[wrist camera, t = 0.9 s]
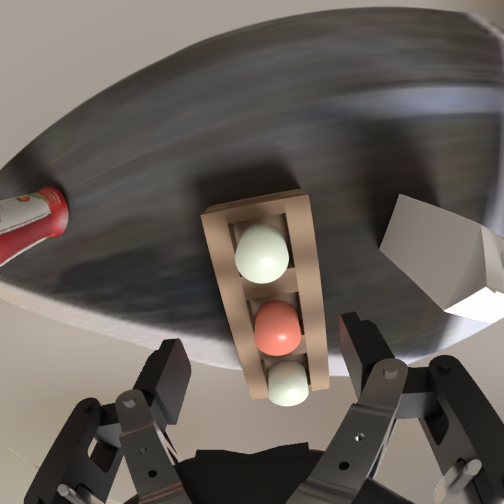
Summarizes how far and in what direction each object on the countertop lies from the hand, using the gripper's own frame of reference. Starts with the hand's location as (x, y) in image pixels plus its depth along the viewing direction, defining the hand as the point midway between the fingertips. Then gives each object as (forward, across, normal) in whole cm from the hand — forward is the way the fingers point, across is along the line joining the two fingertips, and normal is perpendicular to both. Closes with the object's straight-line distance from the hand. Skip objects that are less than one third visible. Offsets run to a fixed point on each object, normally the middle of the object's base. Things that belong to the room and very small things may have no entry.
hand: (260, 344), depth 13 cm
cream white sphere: (+15, 0, +16) cm, 22 cm away
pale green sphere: (+15, 0, 0) cm, 15 cm away
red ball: (+15, 0, +8) cm, 17 cm away
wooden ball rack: (+20, 0, +8) cm, 22 cm away
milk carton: (+20, -18, +3) cm, 27 cm away
